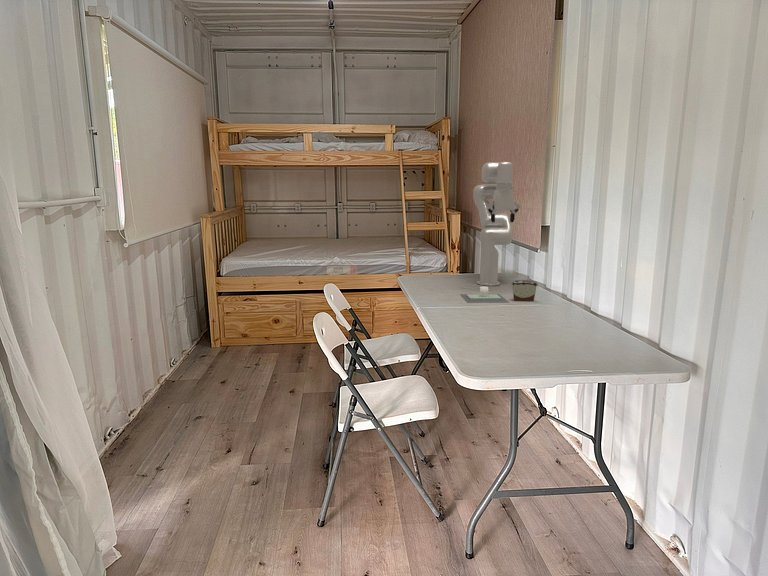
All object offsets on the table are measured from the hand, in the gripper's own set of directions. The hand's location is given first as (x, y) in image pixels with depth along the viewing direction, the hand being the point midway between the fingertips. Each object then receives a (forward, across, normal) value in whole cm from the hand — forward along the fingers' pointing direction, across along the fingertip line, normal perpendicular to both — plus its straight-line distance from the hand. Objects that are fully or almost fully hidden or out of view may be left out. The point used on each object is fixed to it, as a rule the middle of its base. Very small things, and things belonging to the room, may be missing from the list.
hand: (502, 222), depth 266 cm
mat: (+36, +12, +14) cm, 41 cm away
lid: (+36, +12, +14) cm, 41 cm away
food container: (+37, -5, +19) cm, 42 cm away
